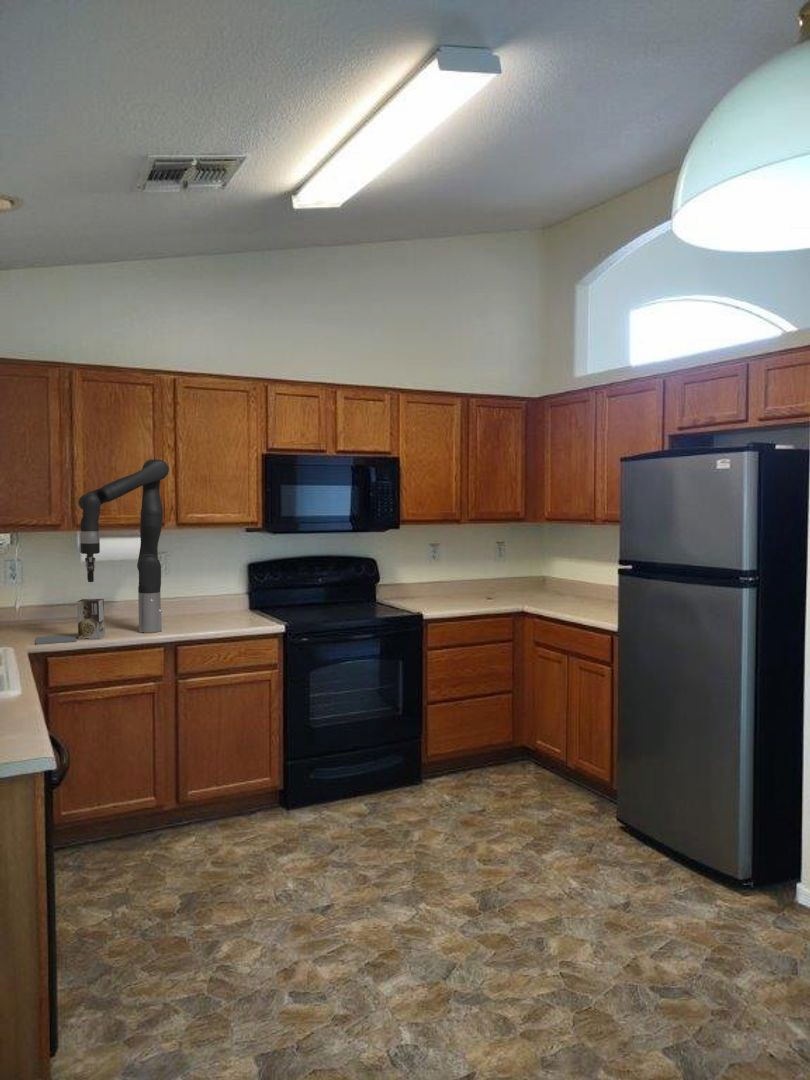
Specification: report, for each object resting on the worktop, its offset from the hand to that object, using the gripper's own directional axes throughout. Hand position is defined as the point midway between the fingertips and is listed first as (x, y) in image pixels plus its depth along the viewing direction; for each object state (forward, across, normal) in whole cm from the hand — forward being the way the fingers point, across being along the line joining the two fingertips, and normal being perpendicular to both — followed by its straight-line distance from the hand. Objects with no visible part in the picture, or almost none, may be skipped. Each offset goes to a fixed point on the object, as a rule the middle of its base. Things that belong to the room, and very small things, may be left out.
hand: (90, 580), depth 326 cm
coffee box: (+24, 0, 0) cm, 24 cm away
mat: (+24, 0, +13) cm, 27 cm away
